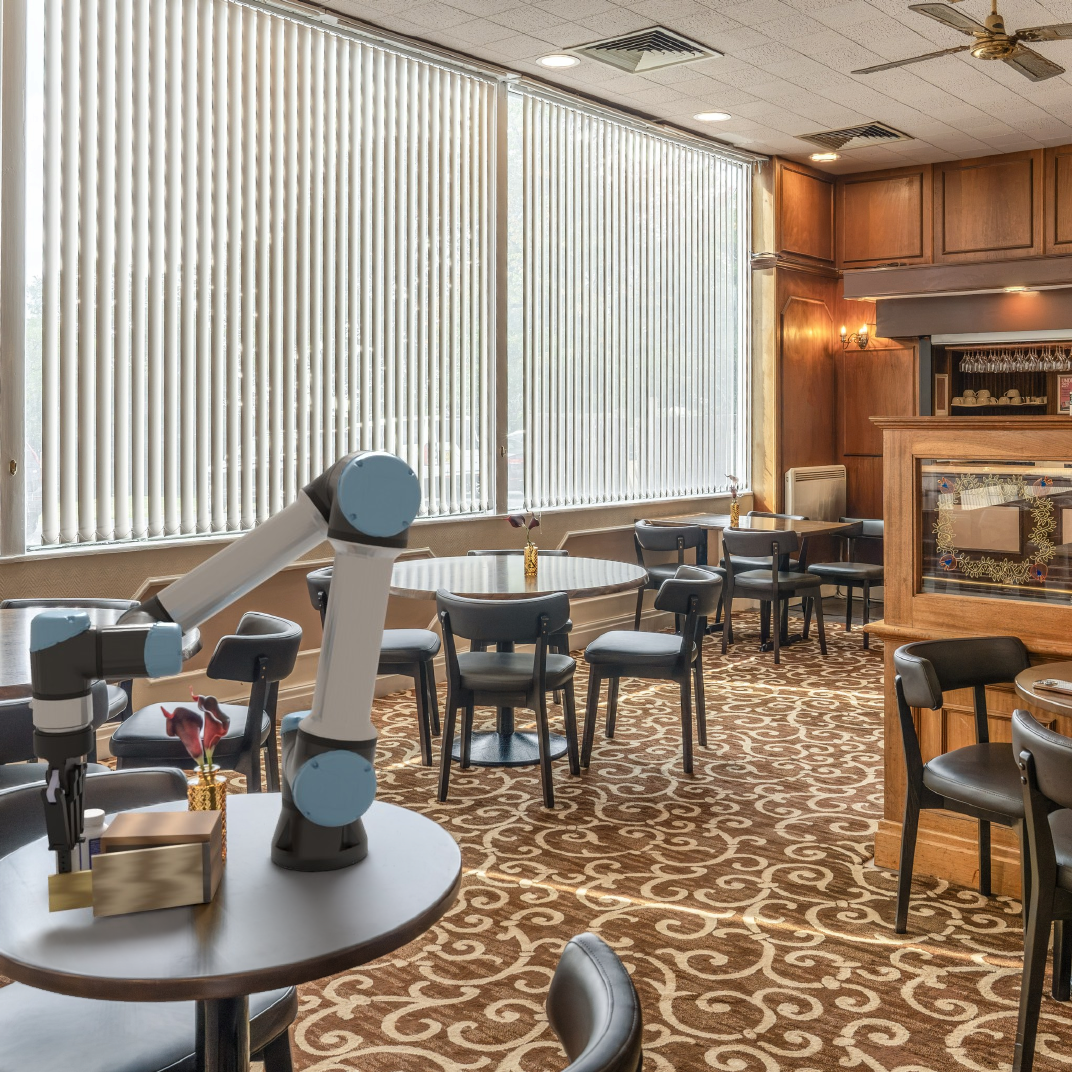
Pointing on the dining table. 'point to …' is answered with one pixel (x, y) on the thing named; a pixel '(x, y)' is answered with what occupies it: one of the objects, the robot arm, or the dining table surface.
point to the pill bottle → (91, 837)
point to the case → (167, 834)
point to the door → (136, 881)
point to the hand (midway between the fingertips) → (68, 892)
